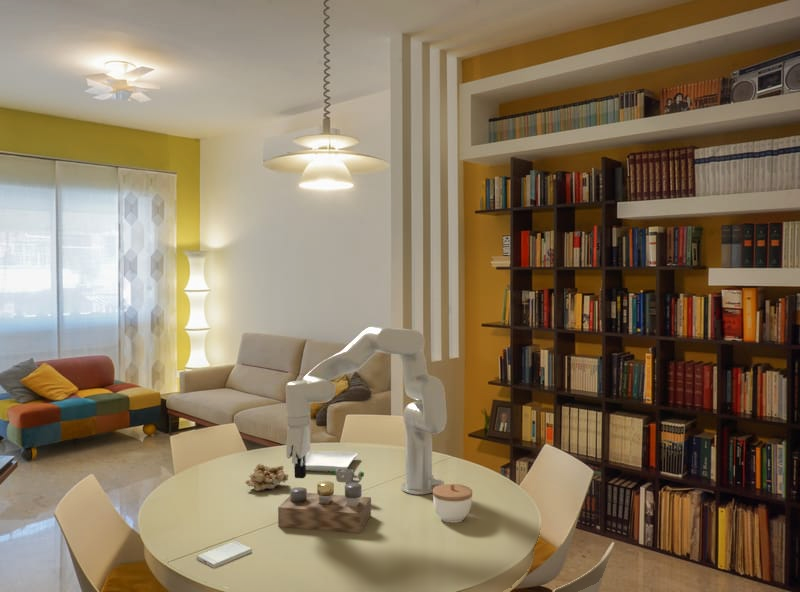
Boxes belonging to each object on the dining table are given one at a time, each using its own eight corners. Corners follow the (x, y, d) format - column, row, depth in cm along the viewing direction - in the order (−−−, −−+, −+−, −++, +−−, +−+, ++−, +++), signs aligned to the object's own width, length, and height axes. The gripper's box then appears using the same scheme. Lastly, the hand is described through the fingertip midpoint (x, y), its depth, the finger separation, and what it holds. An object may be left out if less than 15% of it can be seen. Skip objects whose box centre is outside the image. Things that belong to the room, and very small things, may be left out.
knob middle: (335, 506, 201) (335, 481, 201) (331, 512, 196) (330, 487, 195) (320, 505, 202) (320, 480, 202) (315, 511, 197) (314, 486, 196)
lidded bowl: (445, 529, 193) (446, 493, 192) (425, 515, 204) (425, 481, 203) (480, 521, 198) (480, 487, 198) (458, 508, 210) (458, 475, 209)
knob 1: (309, 512, 203) (308, 487, 202) (303, 518, 198) (303, 493, 197) (293, 511, 204) (293, 486, 203) (287, 517, 199) (287, 492, 198)
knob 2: (363, 508, 199) (363, 483, 199) (359, 514, 194) (359, 489, 194) (347, 507, 200) (347, 482, 200) (342, 513, 195) (342, 488, 195)
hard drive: (234, 540, 182) (196, 554, 172) (252, 548, 177) (213, 563, 167) (234, 546, 182) (196, 560, 172) (252, 554, 177) (213, 569, 167)
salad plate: (310, 457, 269) (310, 449, 269) (358, 459, 266) (358, 451, 266) (295, 473, 248) (294, 464, 248) (347, 475, 245) (347, 466, 245)
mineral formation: (256, 480, 238) (295, 479, 236) (244, 498, 225) (285, 497, 223) (253, 460, 237) (292, 459, 235) (241, 477, 224) (282, 476, 222)
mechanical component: (362, 501, 216) (362, 473, 215) (333, 499, 218) (333, 471, 217) (364, 498, 219) (364, 470, 218) (336, 496, 221) (336, 468, 220)
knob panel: (370, 515, 203) (370, 497, 203) (359, 533, 190) (359, 513, 189) (294, 509, 208) (294, 491, 208) (278, 526, 195) (278, 507, 194)
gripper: (295, 414, 208) (297, 469, 209) (278, 426, 193) (280, 485, 194) (317, 415, 206) (319, 470, 207) (301, 426, 192) (303, 486, 193)
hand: (300, 477), depth 201 cm, fingers closed
